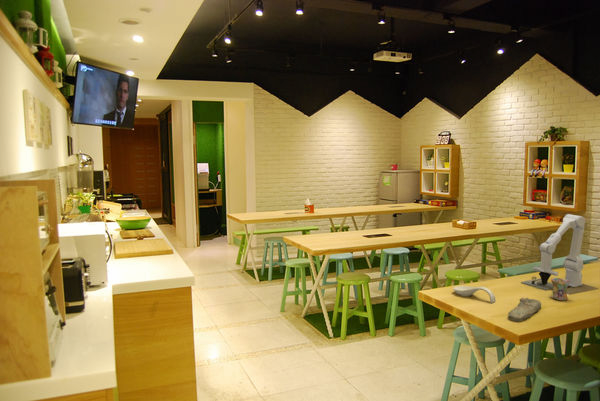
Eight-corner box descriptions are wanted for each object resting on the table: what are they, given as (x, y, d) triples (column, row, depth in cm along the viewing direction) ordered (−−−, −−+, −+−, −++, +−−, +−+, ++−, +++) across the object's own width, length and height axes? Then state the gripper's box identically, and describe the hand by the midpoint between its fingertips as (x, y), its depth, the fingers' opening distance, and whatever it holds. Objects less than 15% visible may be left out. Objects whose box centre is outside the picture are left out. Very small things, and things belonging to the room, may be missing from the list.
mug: (572, 301, 249) (573, 283, 248) (555, 301, 249) (557, 282, 248) (559, 294, 261) (561, 276, 260) (543, 294, 261) (545, 276, 260)
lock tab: (533, 279, 286) (534, 276, 286) (536, 280, 285) (536, 276, 285) (531, 280, 285) (531, 276, 285) (533, 281, 284) (534, 277, 283)
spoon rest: (449, 294, 260) (449, 282, 259) (459, 290, 267) (460, 278, 267) (488, 305, 242) (489, 292, 241) (499, 300, 250) (499, 288, 249)
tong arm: (542, 280, 285) (542, 275, 285) (548, 282, 282) (549, 276, 282) (530, 283, 279) (531, 277, 278) (537, 285, 275) (537, 279, 275)
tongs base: (541, 280, 286) (541, 276, 285) (546, 282, 283) (546, 277, 282) (529, 283, 280) (529, 278, 279) (534, 284, 277) (534, 280, 276)
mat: (535, 280, 290) (535, 278, 290) (560, 286, 276) (560, 285, 276) (520, 283, 282) (521, 282, 282) (545, 290, 269) (545, 289, 268)
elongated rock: (501, 321, 223) (523, 328, 216) (502, 311, 222) (524, 318, 215) (525, 301, 248) (545, 306, 241) (526, 292, 247) (546, 297, 240)
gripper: (530, 260, 277) (529, 282, 279) (553, 266, 265) (551, 288, 266) (537, 259, 281) (536, 280, 282) (560, 264, 268) (558, 287, 270)
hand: (544, 284), depth 274 cm, fingers closed
